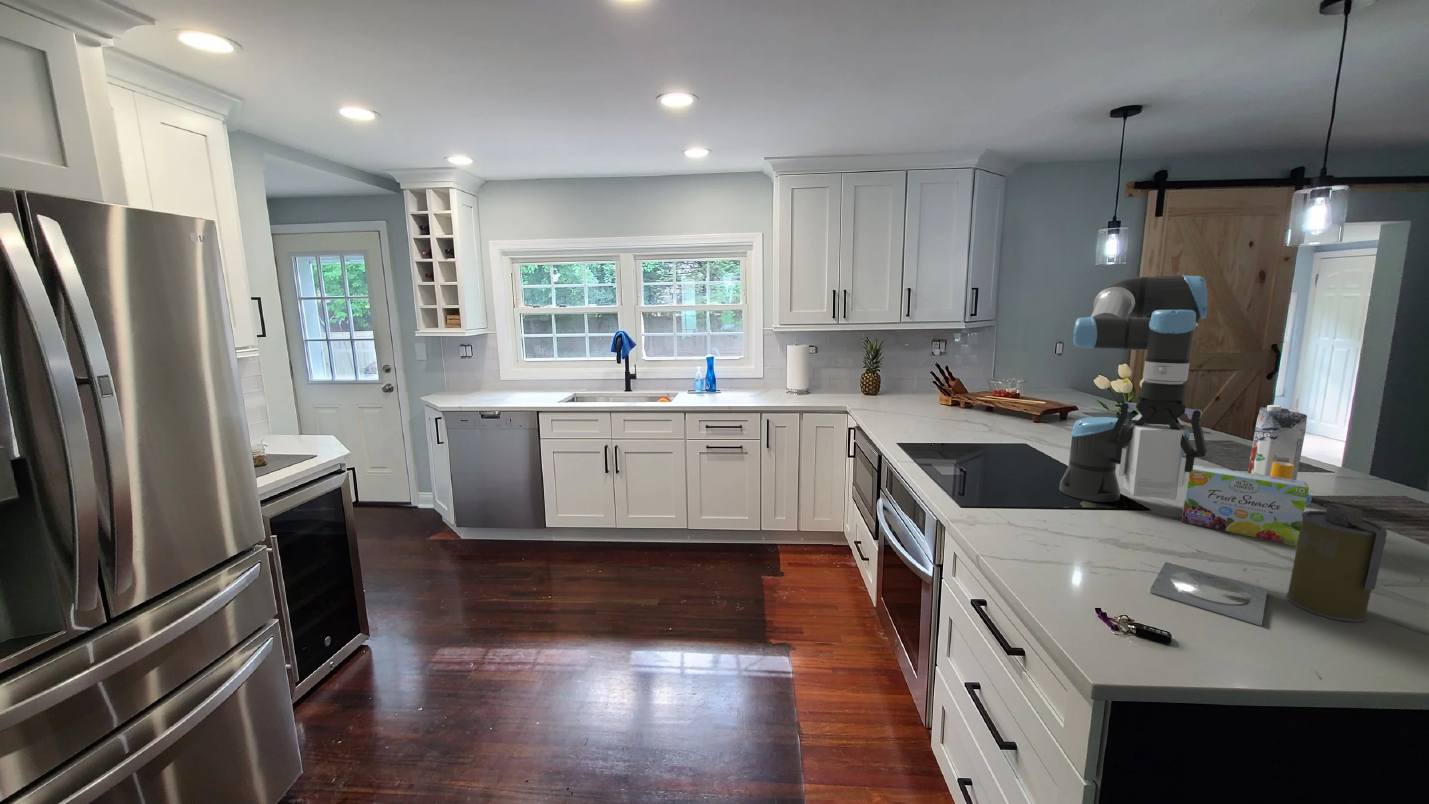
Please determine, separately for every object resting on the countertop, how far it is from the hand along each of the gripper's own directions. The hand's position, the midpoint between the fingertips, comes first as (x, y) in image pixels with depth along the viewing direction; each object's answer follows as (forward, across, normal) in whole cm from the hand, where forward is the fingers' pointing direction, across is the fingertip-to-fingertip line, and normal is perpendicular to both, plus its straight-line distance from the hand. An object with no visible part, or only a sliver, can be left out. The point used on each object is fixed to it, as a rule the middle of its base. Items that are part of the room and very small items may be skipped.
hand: (1150, 479), depth 123 cm
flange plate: (+18, +13, -10) cm, 25 cm away
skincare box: (+3, 0, 0) cm, 3 cm away
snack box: (+18, +13, +34) cm, 40 cm away
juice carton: (+17, +17, +74) cm, 78 cm away
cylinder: (+18, +19, +52) cm, 58 cm away
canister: (+18, +29, -1) cm, 34 cm away
